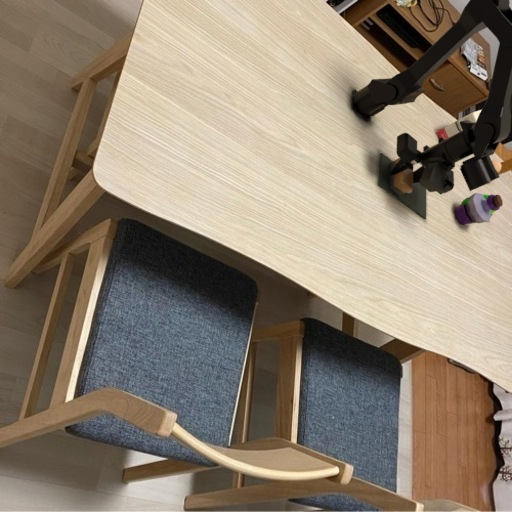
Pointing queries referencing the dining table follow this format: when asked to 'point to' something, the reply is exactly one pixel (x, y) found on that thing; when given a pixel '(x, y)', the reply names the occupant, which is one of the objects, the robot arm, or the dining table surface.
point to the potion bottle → (477, 208)
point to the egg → (497, 165)
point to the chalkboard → (411, 200)
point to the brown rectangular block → (401, 179)
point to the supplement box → (506, 166)
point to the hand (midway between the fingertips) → (396, 177)
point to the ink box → (457, 125)
